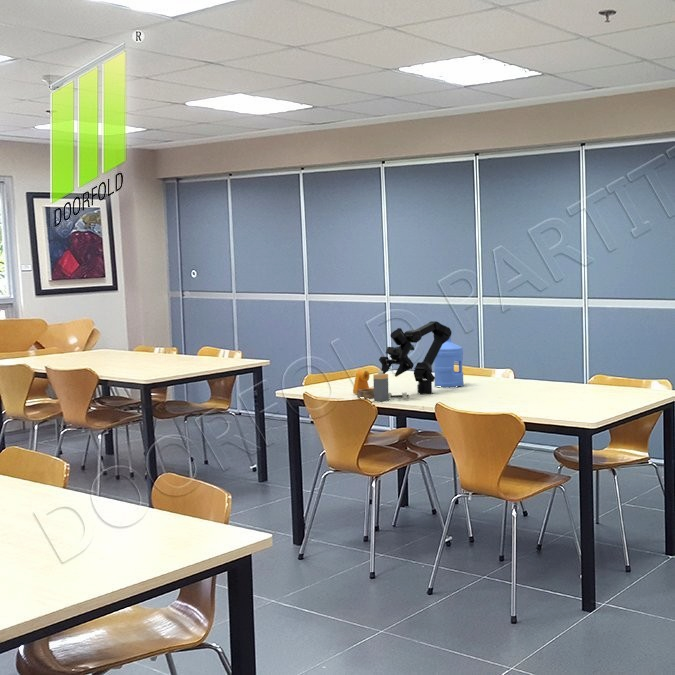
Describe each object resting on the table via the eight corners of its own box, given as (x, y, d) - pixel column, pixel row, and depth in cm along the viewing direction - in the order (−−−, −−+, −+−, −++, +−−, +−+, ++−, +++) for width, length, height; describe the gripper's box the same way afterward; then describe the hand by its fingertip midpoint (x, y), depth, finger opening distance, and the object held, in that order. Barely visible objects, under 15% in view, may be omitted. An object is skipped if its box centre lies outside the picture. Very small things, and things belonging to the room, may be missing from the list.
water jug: (433, 388, 491) (432, 335, 489) (435, 384, 506) (434, 333, 504) (463, 387, 488) (462, 335, 486) (464, 384, 504) (462, 333, 502)
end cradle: (376, 395, 466) (376, 388, 466) (381, 398, 456) (380, 390, 456) (357, 396, 464) (357, 389, 464) (361, 399, 455) (361, 391, 454)
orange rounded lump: (364, 395, 469) (363, 372, 468) (353, 395, 473) (352, 371, 473) (377, 393, 477) (376, 370, 476) (365, 392, 482) (365, 369, 481)
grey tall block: (381, 400, 450) (380, 370, 449) (388, 400, 446) (387, 371, 445) (374, 401, 446) (373, 371, 445) (381, 402, 442) (380, 371, 442)
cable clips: (406, 396, 460) (406, 392, 460) (406, 397, 457) (406, 393, 457) (386, 396, 461) (386, 392, 461) (386, 397, 457) (386, 393, 457)
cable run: (408, 396, 459) (408, 394, 459) (408, 397, 457) (408, 395, 457) (379, 397, 461) (379, 395, 461) (379, 397, 459) (379, 395, 459)
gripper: (380, 340, 459) (366, 364, 451) (409, 341, 445) (394, 365, 438) (391, 354, 465) (377, 378, 457) (420, 356, 451) (405, 380, 444)
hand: (388, 375), depth 449 cm, fingers open, 9 cm apart
